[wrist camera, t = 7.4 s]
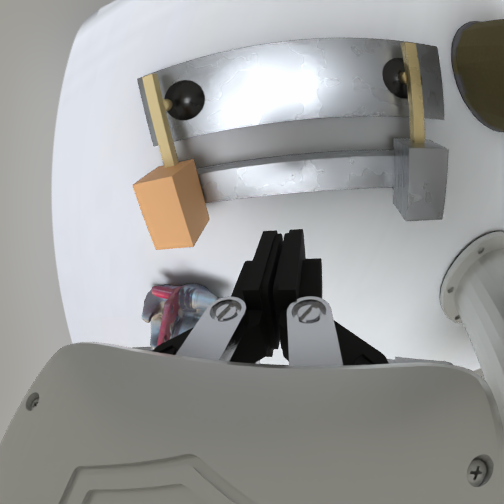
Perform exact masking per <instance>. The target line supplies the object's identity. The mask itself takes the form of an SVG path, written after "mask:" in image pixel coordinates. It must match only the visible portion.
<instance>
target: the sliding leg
mask: <svg viewBox="0 0 504 504" xmlns="http://www.w3.org/2000/svg"><path fill="white" fill-rule="evenodd" d="M142 79H143V84H144V88H145V93H146V97H147V101H148V106H149V110H150V114H151V118H152V122H153V126H154V130H155V134H156V138H157V141H158V145H159V149H160V152H161V156H162V160H163V163H164V165H163V166H159V167H157V168H156V169H154V170H153V171H151V172H150V173H149V174H147V175H146V176H144V177H143V178H142V179H140V180H139V181H137V182H136V183H135V184H133V188H134V191H135V194H136V197H137V200H138V203H139V206H140V209H141V211H142V214H143V217H144V220H145V222H146V225H147V228H148V230H149V233H150V236H151V238H152V241H153V243H154V246H155V249H156V250H160V249H172V248H183V247H194V245H195V243H196V241H197V240H198V238H199V236H200V235H201V233H202V231H203V229H204V228H205V226H206V224H207V223H208V221H209V215H208V212H207V208H206V204H205V200H204V197H203V193H202V189H201V185H200V181H199V178H198V174H197V170H196V166H195V162H194V159H191V160H186V161H181V162H178V158H177V154H176V150H175V146H174V143H173V139H172V135H171V131H170V127H169V123H168V119H167V114H166V112H167V111H169V110H171V108H172V105H173V104H172V101H171V100H169V99H163V97H162V93H161V89H160V84H159V80H158V75H157V74H150V75H147V76H145V77H142Z"/></svg>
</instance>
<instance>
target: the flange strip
mask: <svg viewBox="0 0 504 504" xmlns="http://www.w3.org/2000/svg"><path fill="white" fill-rule="evenodd" d="M401 43H404V41H395V40H384V39H368V38H320V39H304V40H292V41H283V42H275V43H268V44H261V45H255V46H249V47H244V48H239V49H234V50H229V51H225V52H220V53H216V54H212V55H208V56H204V57H201V58H197V59H194V60H190V61H187V62H183V63H180V64H177V65H174V66H171V67H168V68H165V69H162V70H160V71H157V72H154V73H151V74H157V75H158V80H159V84H160V89H161V93H162V97H163V99H169V100H171V101H172V104H173V105H172V108H171V110H169V111H167V112H166V114H167V119H168V123H169V127H170V131H171V135H172V139H173V141H177V140H181V139H185V138H190V137H194V136H199V135H203V134H208V133H213V132H218V131H223V130H229V129H234V128H240V127H246V126H253V125H260V124H267V123H275V122H283V121H292V120H303V119H315V118H330V117H354V116H393V117H409V105H408V93H407V85H404V84H402V83H401V82H400V81H399V79H398V75H399V73H400V72H404V71H405V68H404V61H403V55H402V49H401ZM408 43H412V42H408ZM415 44H416V49H417V54H418V61H419V68H420V76H421V84H422V95H423V108H424V118H430V119H441V120H444V102H443V89H442V79H441V70H440V63H439V56H438V50H437V47H436V46H430V45H425V44H418V43H415ZM149 75H150V74H149ZM146 76H147V75H146ZM144 77H145V76H144ZM137 80H138V85H139V89H140V94H141V98H142V102H143V107H144V111H145V115H146V119H147V123H148V127H149V130H150V134H151V138H152V142H153V146H158V141H157V138H156V134H155V130H154V126H153V122H152V118H151V114H150V110H149V106H148V101H147V97H146V93H145V88H144V84H143V79H142V77H141V78H139V79H137Z"/></svg>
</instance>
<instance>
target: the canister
mask: <svg viewBox="0 0 504 504" xmlns="http://www.w3.org/2000/svg"><path fill="white" fill-rule="evenodd" d="M452 66H453V70H454V74H455V78H456V83H457V85H458V88H459V90H460V93H461V95H462V97H463V99H464V101H465V103H466V104H467V106H468V107H469V109H470V110H471V112H472V113H473V115H474V116H475V117H476V118H477V119H478V120H479V121H481V122H482V123H483V124H484V125H485V126H487V127H489V128H490V129H492V130H495V131H498V132H504V19H500V20H492V21H486V22H478V21H474V22H469V23H466V24H465V25H463V26H462V27H461V28H460V29H458V31H457V33H456V35H455V37H454V40H453V46H452Z"/></svg>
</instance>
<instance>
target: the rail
mask: <svg viewBox="0 0 504 504" xmlns="http://www.w3.org/2000/svg"><path fill="white" fill-rule="evenodd" d="M196 170H197V174H198V178H199V181H200V185H201V189H202V193H203V197H204V200H205V203H209V202H216V201H224V200H232V199H241V198H250V197H259V196H268V195H278V194H289V193H300V192H313V191H326V190H341V189H359V188H381V187H394V150H355V151H335V152H320V153H307V154H296V155H286V156H277V157H268V158H260V159H252V160H245V161H238V162H231V163H225V164H219V165H213V166H207V167H201V168H196Z"/></svg>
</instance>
